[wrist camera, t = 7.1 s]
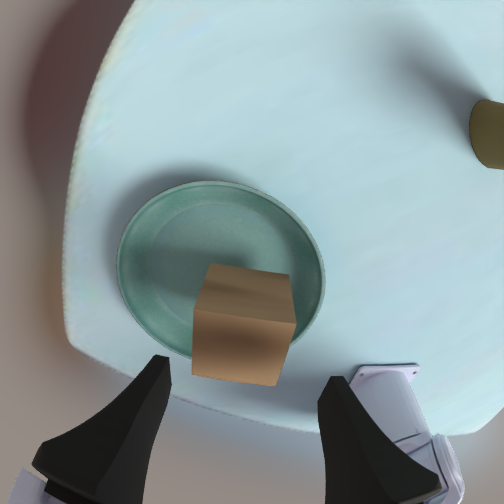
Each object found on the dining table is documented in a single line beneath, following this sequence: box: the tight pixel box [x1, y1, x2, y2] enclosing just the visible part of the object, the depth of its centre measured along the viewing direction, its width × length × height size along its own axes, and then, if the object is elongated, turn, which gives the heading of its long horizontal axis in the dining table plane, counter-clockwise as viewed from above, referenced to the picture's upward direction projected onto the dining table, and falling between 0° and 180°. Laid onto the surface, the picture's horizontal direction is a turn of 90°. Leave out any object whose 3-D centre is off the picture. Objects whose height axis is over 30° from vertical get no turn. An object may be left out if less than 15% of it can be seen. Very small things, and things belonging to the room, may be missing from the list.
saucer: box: [116, 180, 325, 359], centre depth 20 cm, size 15×15×3 cm
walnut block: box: [192, 263, 296, 386], centre depth 16 cm, size 5×5×5 cm
